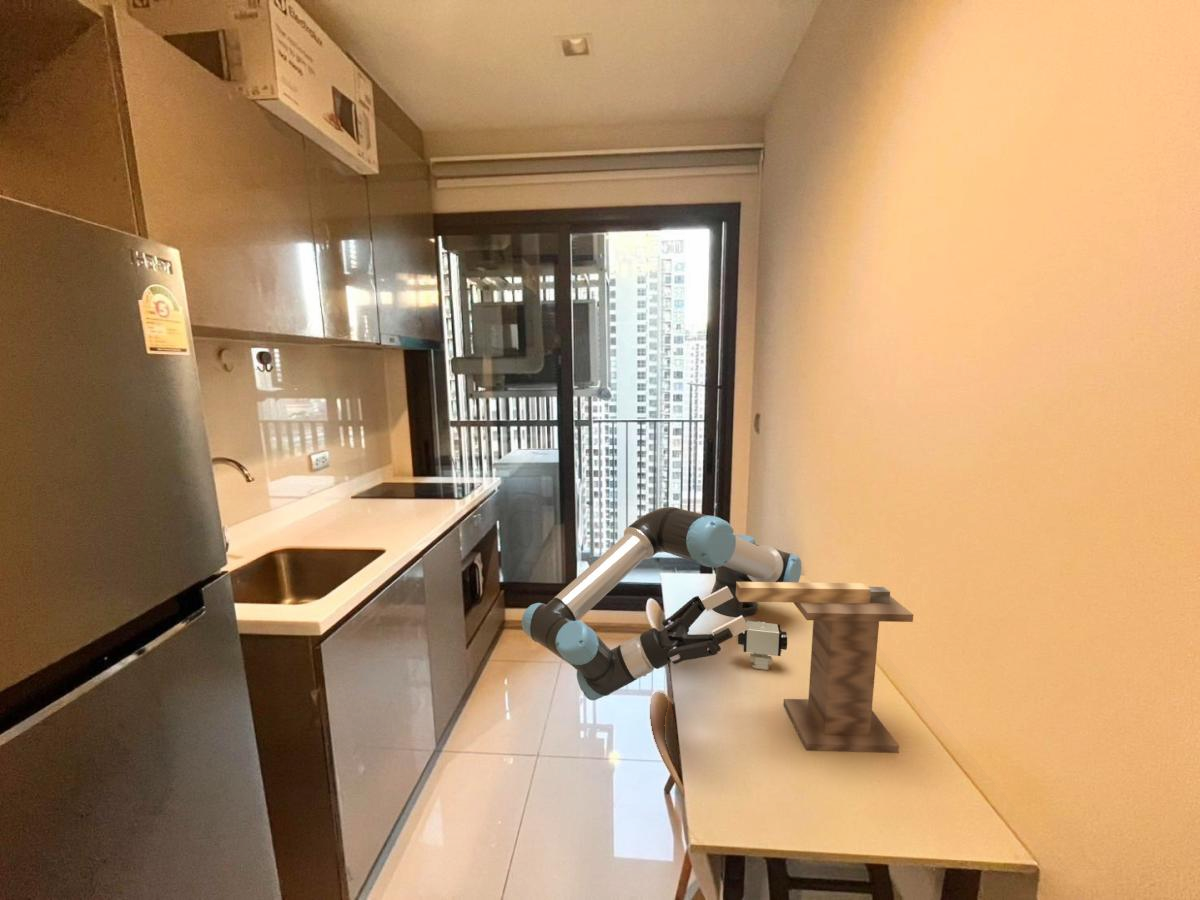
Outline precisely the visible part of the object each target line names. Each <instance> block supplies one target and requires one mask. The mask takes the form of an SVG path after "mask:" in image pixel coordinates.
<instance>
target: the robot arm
mask: <svg viewBox="0 0 1200 900" xmlns="http://www.w3.org/2000/svg"><path fill="white" fill-rule="evenodd" d="M755 539H756V538H755V537H753V536H752V535H747V534H735V533H734V528H733V526H732V525H731V524H730V523H729V522H728V521H727V520H724V519H722V518H721V517H719V516H714V515H707V514H703V513H699V512H696V511H692V510H686V509H683V508H680V507H679V508H678V507H676V506H668V507H667V506H666V507H665V506H664V507H661V508H658V509H654V510H652V511H650V512H648V513H646V514H644V515H642V516H641V517H639V518H638V519H637V520H635V521H634V522H632V523H631V524H630V525H628V526H627V528H625V530H624V532H623V536H622V537H621V538H620V539H619V540H617V542H616V543H614V544H613V545H612V546H611V547H609V549H608V550H607V551H605V552H604V553H603V554H602V555H601V556H600V557H599V558H597V559H596V560H595V561H593V563H592V564H591V565H589V566H588V567H587V568H586V569H585V570H584V571H582V573H580V574H579V575H578V576H577V577H576V578H575V579H574V580H572V581H571V582H570V583H569V584H568V585H567V586H566V587H564V588H563V589H562V590H561V591H560V592H559V593H558V594H556V595H555V596H554V597H553V598H552V599H551V600H550V601H548V603H547V604H545V603H542V602H536V603H533V604H530V605H529V606H528V607H527V608H526V609H525V611H524V612H523V615H522V617H521V627H522V631H523V632H524V633H525V634H526V635H527V636H528V637H529V638H531V640H533V641H534V642H535V643H538V644H539V645H541V646H543V647H544V648H546V649H547V650H549V652H551V653H552V654H554V655H556V656H557V657H558V658H560V659H561V660H563V661H564V662H566V663H567V664H569V665H570V666H572V667H573V668H574V669H575V670H576V679H577V683H578V686H579V689H580V690H581V692H582V693H583V696H585V697H586V699H587V700H589V701H596V700H598V699H600V698H603V697H608V696H610V695H611V694H612V693H615V692H616V691H619V690H620V689H622V688H624V687H626V686H627V685H630V684H631V683H633V682H635V681H636V680H638V679H641V678H642V677H646V676H647V675H648V674H650V673H652V672H653V671H654V669H656V670H659V669H660V668H661V669H662V667H664V666H666V665H668V664H670V663H672V664H673V665H677V664H679V663H681V662H683V661H690V660H696V659H700V658H706V657H712V656H716V655H718V653H719V652H720V651H721V650H722V648H721V645H720V644H722V643H724V642H727V641H728V640H730V639H732V638H734V637H735V636H738V634H740V633H742V632H744V631H746V630H748V629H749V627H748V625H747V623H746V622H745V621H746V620H745V618H744V617H748V616H752V615H754V614H756V613H757V612H758V610H759V609H758V608H759V607H758V605H759V602H739V601H738V599H737V597H736V582H800V579H801V574H802V561H801V558H800V556H798V555H796V554H793V553H788V552H785V551H782V550H779V549H777V548H776V547H774V546H771V545H769V544H761V545H759V544H756V540H755ZM658 553H667V554H669V555H672V556H675V557H679V558H681V559H685V560H688V561H691V562H693V563H697V564H699V565H700V566H703V567H705V568H706V567H707V568H715V582H714V584H713V588H712V590H711V592H710V594H709V595H707V596H705V597H703V598H700V597H699V595H696V596H694V597H692V598H691V599H690V600H689V601H687V602H686V603H685V604H684V605H682V607H680V608H679V609H678V610H677V611H675V612H674V613H673V614H671V616H669V617H668V618H666V619H664V620H662V622H661V623H662V626H664V629H662V630H658V629H657V628H656V627H652V628H650V629H648V630H646V631H644V632H642V633H641V634H640V636H635V637H633V638H630V639H629V640H627V641H625V642H624V643H622V644H620V645H618V646H617V647H614V648H612V649H610V647H608V646H607V645H606V643H605V642H604V641H603V640H602V639H601V638H600V636H598V635H597V634H596V632H595V630H594V629H593V628H592V627H590V626H588V625H587V624H586V623H585V622H584V621H581V619H582V618H583V617H584V616H586V614H587V613H589V612H590V611H591V610H592V609H593V608H594V607H595V606H596V605H597V604H598V603H600V601H601V600H602V599H603V598H604V597H605V596H607V594H608V593H610V592H611V591H612V590H614V588H615V587H616V586H617V585H618V584H619V583H620V582H621V581H622V580H623V579H624V578H626V577H627V575H629V574H630V573H631V572H632V571H633V570H634V569H635V568H636V567H637V566H638V565H639V564H640V563H641V562H642V561H644V560H649V559H650V560H651V558H653V557H654V556H655V555H656V554H658ZM705 610H706V612H709V611H710V610H713V611H715V612H716V613H719V614H722V615H725V616H729V617H735V618H734V619H732V620H730V621H727V622H726V623H724V624H722V625H720V626H718V627H716V628H714V629H712V630H711V632H712V633H709V634H708V633H705V634H703V633H702V634H701V633H700V634H699V633H698V634H697V633H696V634H689V632H690V628H691V627H692V625H693V624H694V623H695V622H696V621H697V620H698V619H699V617H700V616H701V615H702V613H704V611H705Z"/></svg>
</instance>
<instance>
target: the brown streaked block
mask: <svg viewBox="0 0 1200 900" xmlns="http://www.w3.org/2000/svg"><path fill="white" fill-rule="evenodd" d="M890 596H891V591H890V590H889V589H887V588H886V587H885V586H868V585H866V584H865V583H863V582H862V583H861V582H860V583H859V582H856V583H855V582H800V581H799V582H736V597H737V599H738V601H739V602H758V603H793V604H794V603H863V604H870V603H889V602H890Z"/></svg>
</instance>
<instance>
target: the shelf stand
mask: <svg viewBox="0 0 1200 900" xmlns="http://www.w3.org/2000/svg"><path fill="white" fill-rule="evenodd" d="M793 604H794V606H795V607H796V608H797V609H798V611H799V612H800V613H801V615H802V616H803V618H805V620H806V621H813V622H812V637H811V639H812V640H811V641H812V642H811V655H810V668H809V669H810V670H809V683H808V698H807V699H806V698H805V699H804V698H784V699H783V704H782V705H783V707H784V709H785V711H786V714H787V715H788V717H789V719H790V721H791V723H792V725H793V727H794V729H795V728H796V729H795V731H796V733H797V732H798V733H797V735H798V738H799V739H800V741H801V742H802V743H801V744H802V745H803V747H804V749H805V751H812V750H814V751H815V750H816V751H817V752H818V750H819V752H820V751H821V752H856V753H857V752H858V753H860V752H861V753H862V752H863V753H865V752H866V753H898V754H899V752H900V745H899V744H898V742H897V741H896V740H895V738H894V737H893V736H892V734H891V733H890V732H889V730H888V729H887V728H886V726H885V725H884V724H883V723H882V721H881V720H880V719H879V717H878V716H877V714H876V713H875V712H874V710H873V701H874V700H873V699H874V689H875V687H874V686H875V679H876V677H875V674H876V665H877V652H878V641H879V640H878V639H879V630H880V629H879V628H880V622H888V623H889V622H895V623H899V622H901V623H913V622H914V614H913V613H912V612H911V611H910V610H908V609H907V608H906V607H904V606H903V605H902V603H900V602H899V601H897V600H896V599H895V598H893V597H892V596H891V595H890V602H889V603H870V604H863V603H793ZM816 751H815V752H816Z"/></svg>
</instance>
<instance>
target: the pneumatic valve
mask: <svg viewBox="0 0 1200 900" xmlns="http://www.w3.org/2000/svg"><path fill="white" fill-rule="evenodd" d="M745 622H746V623H747V625H748V627H749V629H748V630H746V631H744V632H742V633H740V634H738V635H737V644H738V645H740V646H742V648H743V652H744V653H750V654H749V664H750V665H752V668H755V669H757V670H762V669H763V670H764V671H768V670H770V669H769V668H770V667H772V666H773V659H772V656H775V657H781V656H782V655H781V654H782V653H783V651H786V650H787V649H788V634H787V631H783V630H782V628H781V625H780V624H779V623H770V622H765V621H760V620H758V621H753V620H745Z"/></svg>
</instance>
